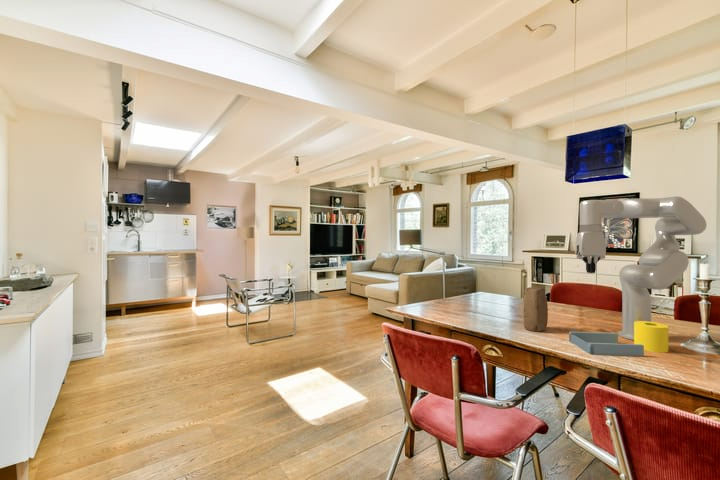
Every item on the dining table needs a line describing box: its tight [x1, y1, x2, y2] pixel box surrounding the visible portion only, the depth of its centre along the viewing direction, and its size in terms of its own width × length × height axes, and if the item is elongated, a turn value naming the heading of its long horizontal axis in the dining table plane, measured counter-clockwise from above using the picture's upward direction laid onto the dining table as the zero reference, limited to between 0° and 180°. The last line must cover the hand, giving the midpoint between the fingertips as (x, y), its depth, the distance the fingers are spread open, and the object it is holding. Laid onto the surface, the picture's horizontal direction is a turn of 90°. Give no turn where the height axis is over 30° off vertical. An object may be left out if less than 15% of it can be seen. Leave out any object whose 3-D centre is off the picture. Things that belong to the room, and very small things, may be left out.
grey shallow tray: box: [568, 331, 645, 357], centre depth 126 cm, size 18×15×4 cm
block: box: [522, 286, 549, 333], centre depth 152 cm, size 11×8×20 cm
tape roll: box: [633, 321, 669, 354], centre depth 126 cm, size 10×10×9 cm
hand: (590, 272), depth 135 cm, fingers closed
